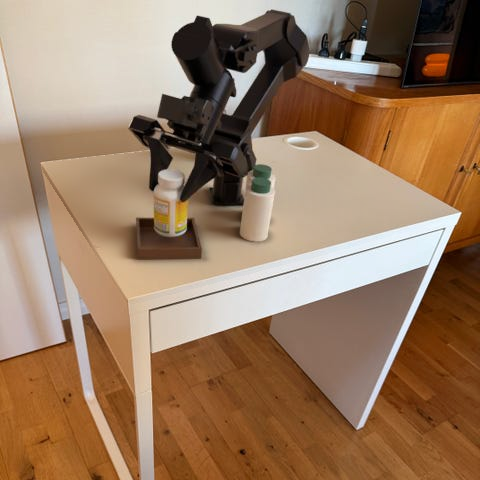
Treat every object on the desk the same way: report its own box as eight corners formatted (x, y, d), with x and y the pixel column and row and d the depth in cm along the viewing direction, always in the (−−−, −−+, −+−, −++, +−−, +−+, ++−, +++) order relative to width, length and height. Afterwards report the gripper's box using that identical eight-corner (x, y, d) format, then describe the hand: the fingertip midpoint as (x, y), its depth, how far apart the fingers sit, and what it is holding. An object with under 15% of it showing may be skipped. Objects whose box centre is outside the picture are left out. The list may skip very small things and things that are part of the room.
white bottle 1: (239, 212, 87) (245, 161, 81) (264, 212, 88) (272, 162, 82) (244, 225, 83) (251, 173, 77) (270, 225, 85) (280, 174, 78)
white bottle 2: (237, 227, 83) (243, 174, 76) (263, 227, 84) (272, 175, 77) (242, 241, 79) (250, 188, 73) (270, 241, 80) (280, 188, 74)
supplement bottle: (155, 238, 73) (154, 182, 67) (153, 221, 77) (152, 166, 70) (188, 237, 74) (190, 182, 68) (185, 221, 78) (186, 167, 72)
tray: (136, 227, 79) (135, 217, 77) (193, 227, 81) (194, 217, 80) (138, 259, 71) (137, 249, 70) (201, 258, 74) (201, 248, 72)
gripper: (132, 55, 65) (88, 153, 65) (248, 85, 60) (201, 192, 60) (163, 101, 76) (126, 186, 76) (263, 130, 71) (224, 221, 71)
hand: (166, 195), depth 70 cm, fingers closed on supplement bottle, 5 cm apart
